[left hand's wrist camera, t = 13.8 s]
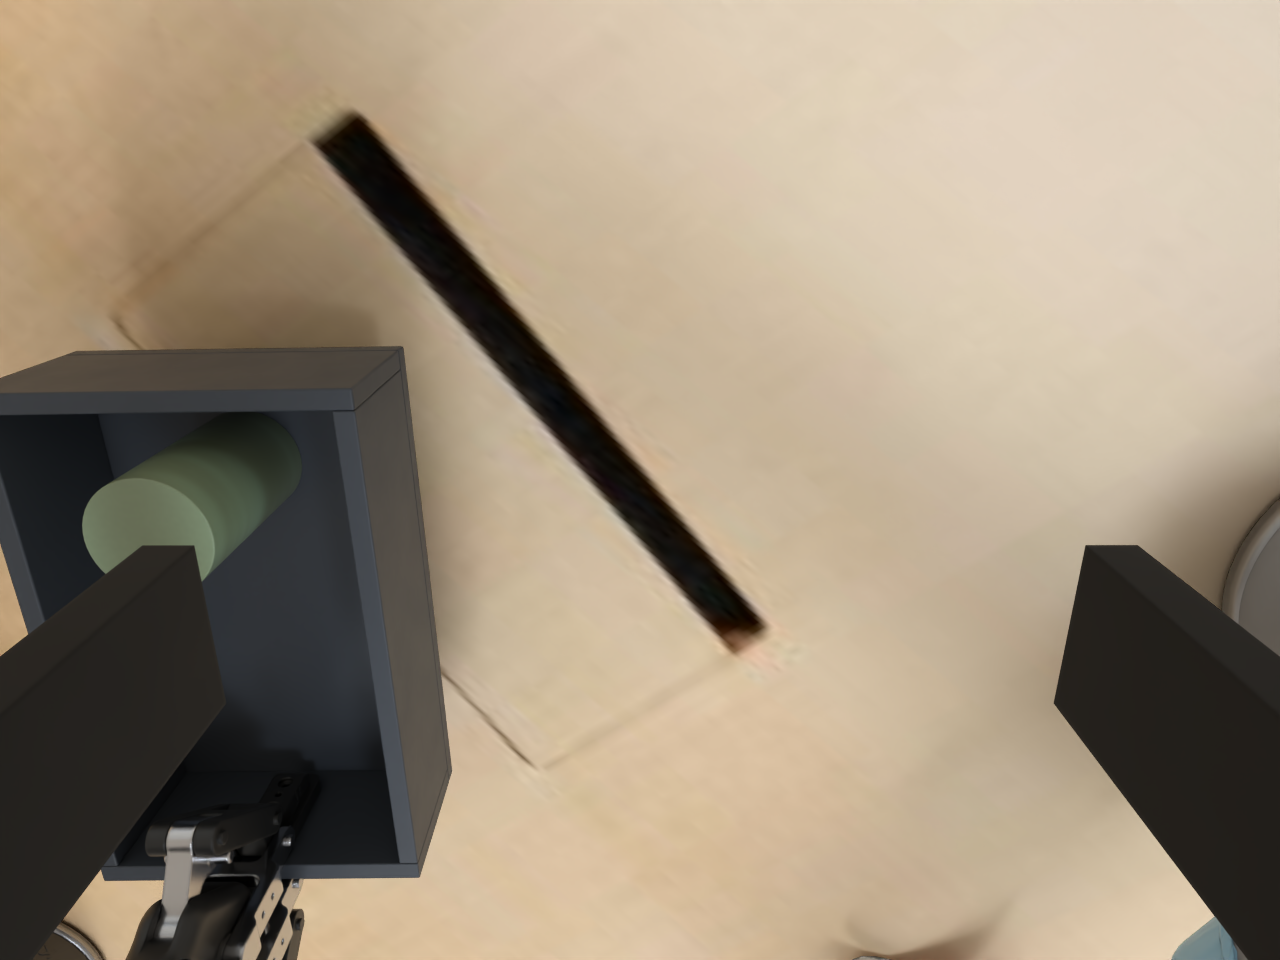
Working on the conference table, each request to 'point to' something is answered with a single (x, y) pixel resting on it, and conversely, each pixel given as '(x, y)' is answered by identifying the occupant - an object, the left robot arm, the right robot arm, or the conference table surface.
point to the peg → (196, 492)
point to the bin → (263, 584)
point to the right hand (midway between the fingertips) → (302, 792)
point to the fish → (870, 958)
